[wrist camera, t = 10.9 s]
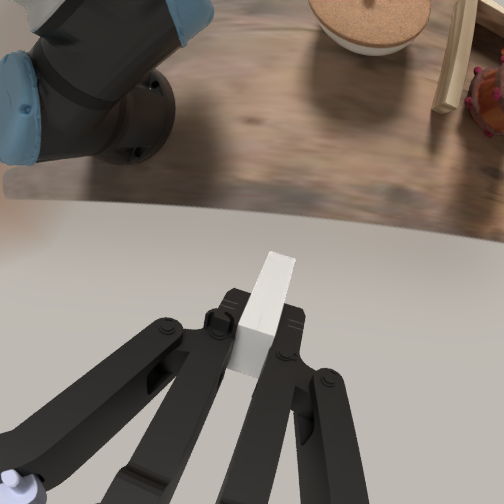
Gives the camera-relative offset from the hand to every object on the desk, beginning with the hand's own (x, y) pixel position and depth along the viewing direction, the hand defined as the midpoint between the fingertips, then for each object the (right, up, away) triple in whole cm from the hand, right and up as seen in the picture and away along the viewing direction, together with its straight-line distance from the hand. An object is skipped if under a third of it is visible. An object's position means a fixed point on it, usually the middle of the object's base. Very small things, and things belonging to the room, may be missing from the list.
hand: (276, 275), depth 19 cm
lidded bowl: (+12, +29, +12) cm, 34 cm away
